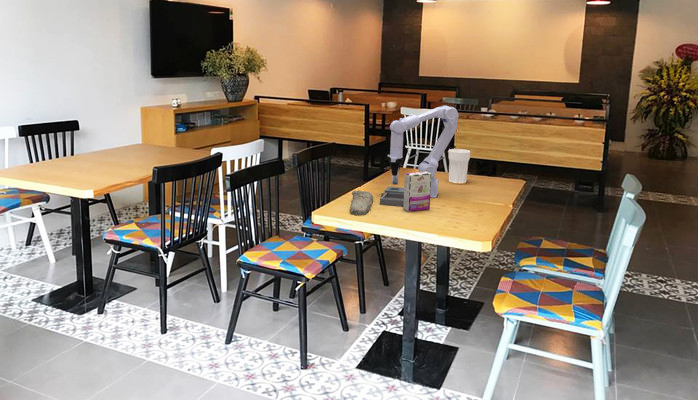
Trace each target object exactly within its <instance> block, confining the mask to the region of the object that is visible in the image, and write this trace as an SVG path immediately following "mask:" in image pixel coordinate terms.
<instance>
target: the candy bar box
mask: <svg viewBox="0 0 698 400" xmlns="http://www.w3.org/2000/svg"><path fill="white" fill-rule="evenodd" d="M403 180H404V182H403V186H404V187H403V188H404V207H402V208H403V210H404V211H406V212H408V213H411V212H413V213H414V212H421V211H429V210H430V209H431V197H430V192H431V173H429V172H419V171H418V172H417V171H416V172H408V173H407V172H405V173H404V179H403Z"/></svg>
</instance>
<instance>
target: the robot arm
mask: <svg viewBox="0 0 698 400" xmlns="http://www.w3.org/2000/svg"><path fill="white" fill-rule="evenodd" d="M459 117H460V115H459V112H458V110H457V109H456V108H455V107H453V106H448V105H441V106H438V107H434V108H433V109H430V110H428V111H425V112H423V113H421V114H418V115H417V114H414V113H413V114H412V113H409V114H408V116H406V117H403V118H402V117H400V118H399V120H393V121H392V122H391V123H390V125H389V129H390V132H391V135H390V148H389V149H390V151H389V154H387V157H388V158H390V160H388V163H389V166H390V169H391V170H390V171H391V176H392V175H393V176H397V173H398V168H399V171H400V169H401V165H402V163H403V161H404V159H403V153H404V152H403V149H404V148H403V147H404V132H405V131H408V130H411V129H413V128H416V127H418V126H419V124H420V123H422V122H426V121H428V120H431V119H434V118H440V119H441V121H442V122H443V126H444V128H443V130H442V132H441V134H440V135H439V138H438V139H437V140H436V142H435V144H434V146H433V148H431V151H430V153H429V154H428V156H426V157H425V158H424V159H423V161H422V162H421V163H419V165H418V166H417V171H418V172H429V173H431V192H430V198H435V199H436V198H437V197H438V194H439V178H438V177H437V178H436V177H435V176H436V174H437V169H438V167H439V161H440V159H441V157H442V156H443V154H444V152H445V150H446V149H447V147H448V145H449V144H450V142H451V140H452V139H453V136H454V135H455V133H456V132H457V130H458V118H459Z"/></svg>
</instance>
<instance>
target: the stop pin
mask: <svg viewBox="0 0 698 400" xmlns="http://www.w3.org/2000/svg"><path fill="white" fill-rule="evenodd" d="M399 172H400V170H399V168H398V173H397V176H393V175H392V174H391V185H399Z"/></svg>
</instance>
